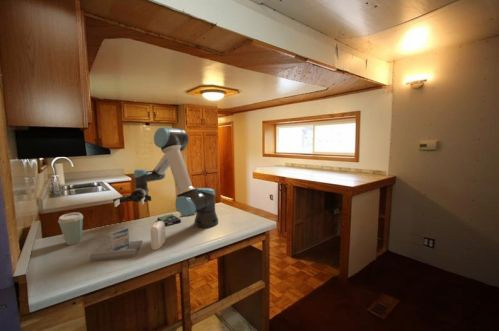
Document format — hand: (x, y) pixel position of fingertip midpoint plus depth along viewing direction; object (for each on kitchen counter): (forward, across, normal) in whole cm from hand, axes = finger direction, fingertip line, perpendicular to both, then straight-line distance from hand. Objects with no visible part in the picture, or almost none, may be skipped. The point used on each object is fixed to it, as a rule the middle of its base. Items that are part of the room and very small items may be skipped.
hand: (128, 203), depth 125 cm
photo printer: (+15, -16, -20) cm, 30 cm away
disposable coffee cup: (0, +28, -19) cm, 34 cm away
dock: (+16, +2, -20) cm, 26 cm away
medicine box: (+15, +2, -18) cm, 24 cm away
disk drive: (-21, -18, -20) cm, 34 cm away
